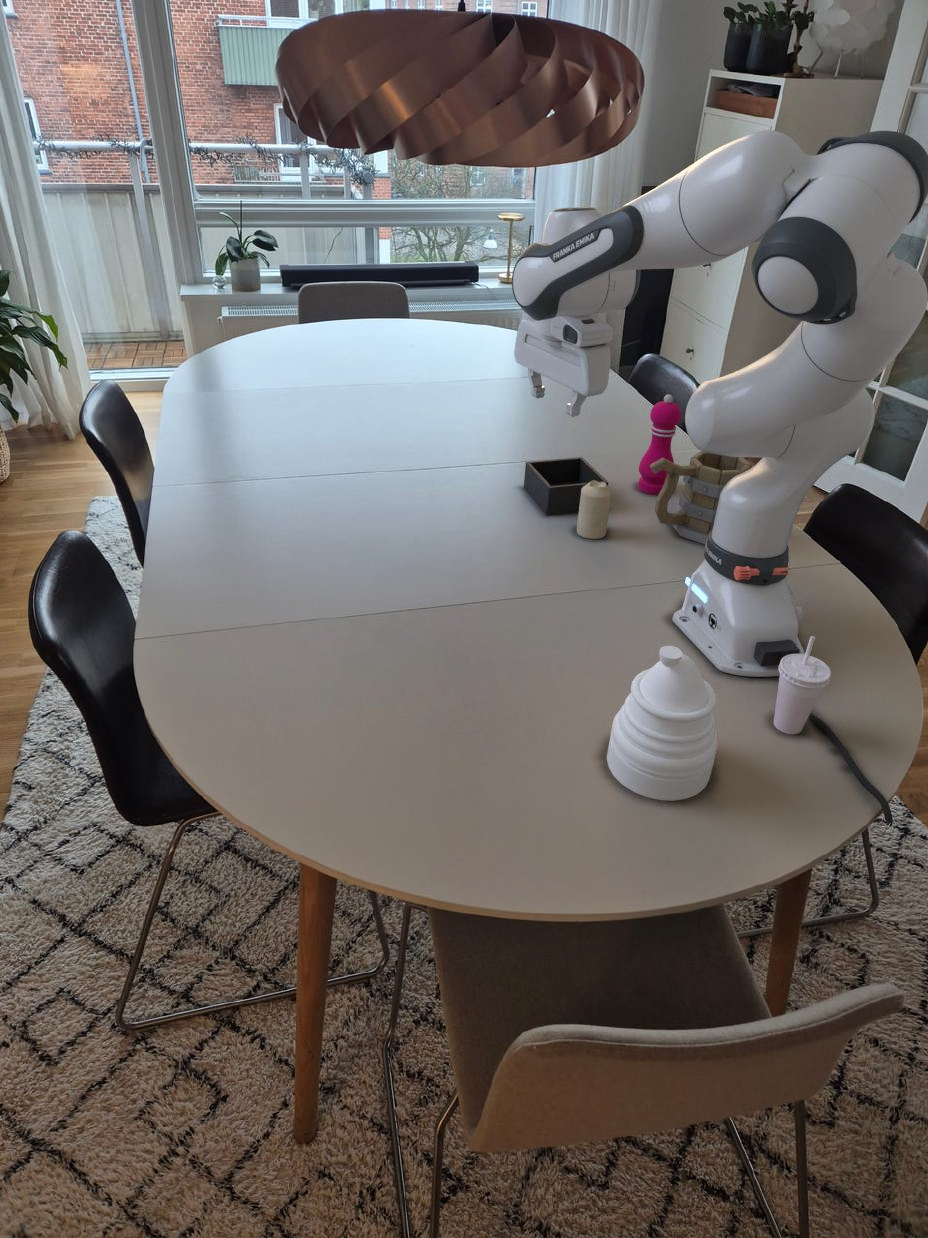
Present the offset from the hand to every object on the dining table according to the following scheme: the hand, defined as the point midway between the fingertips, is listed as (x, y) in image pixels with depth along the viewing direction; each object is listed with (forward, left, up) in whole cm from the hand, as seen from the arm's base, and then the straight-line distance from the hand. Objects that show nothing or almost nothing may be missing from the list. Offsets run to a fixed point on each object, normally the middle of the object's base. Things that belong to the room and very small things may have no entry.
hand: (554, 405), depth 142 cm
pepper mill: (+24, -29, -27) cm, 46 cm away
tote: (+20, -9, -26) cm, 34 cm away
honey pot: (-58, -4, -27) cm, 64 cm away
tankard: (+5, -30, -27) cm, 40 cm away
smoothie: (-52, -24, -27) cm, 63 cm away
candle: (+5, -11, -27) cm, 29 cm away
